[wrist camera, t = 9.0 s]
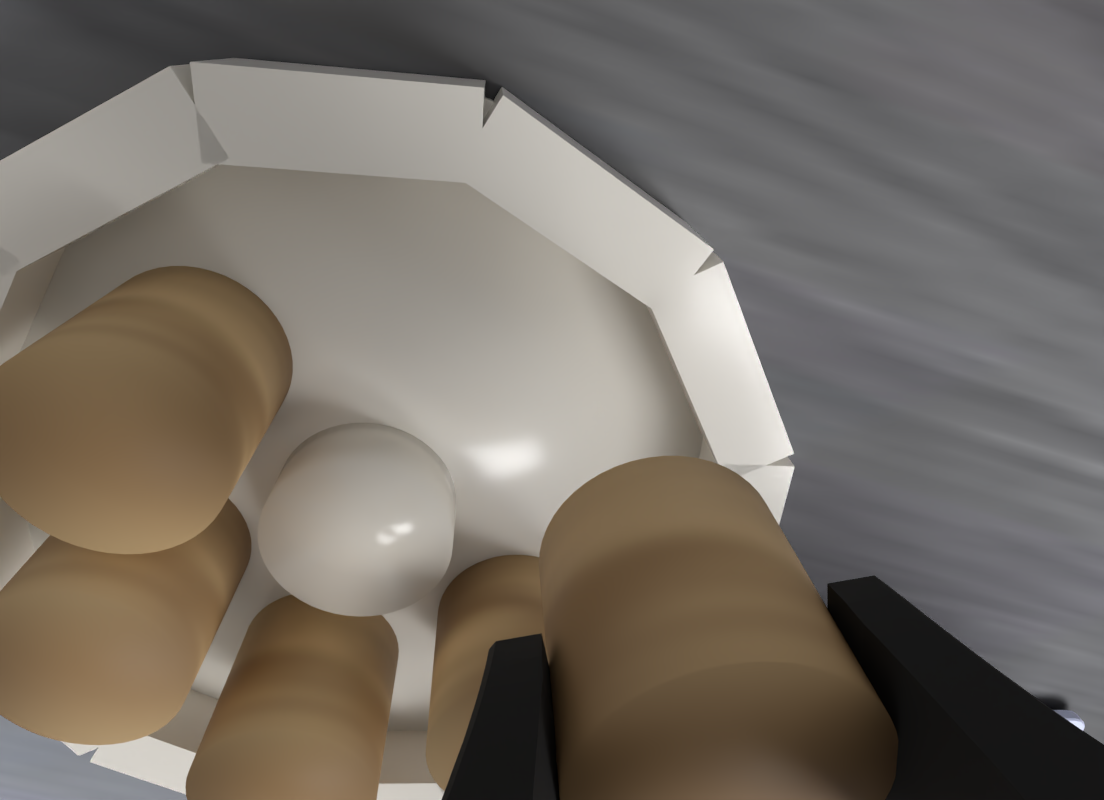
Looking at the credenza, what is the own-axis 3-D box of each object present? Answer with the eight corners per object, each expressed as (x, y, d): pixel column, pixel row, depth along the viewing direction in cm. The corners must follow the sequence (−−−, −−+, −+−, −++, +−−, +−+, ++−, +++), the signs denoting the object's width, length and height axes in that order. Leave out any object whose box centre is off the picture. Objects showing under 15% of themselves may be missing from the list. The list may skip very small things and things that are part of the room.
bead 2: (744, 650, 13) (842, 890, 9) (527, 643, 12) (541, 892, 9) (803, 463, 11) (948, 667, 8) (554, 447, 11) (585, 656, 7)
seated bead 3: (399, 703, 20) (378, 851, 16) (252, 703, 19) (197, 854, 16) (398, 592, 18) (374, 729, 15) (238, 589, 18) (173, 729, 14)
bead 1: (430, 665, 19) (417, 809, 16) (446, 547, 18) (435, 678, 14) (573, 675, 20) (592, 816, 16) (602, 562, 18) (629, 690, 15)
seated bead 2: (258, 604, 18) (199, 744, 14) (93, 601, 18) (-9, 745, 14) (243, 470, 16) (173, 592, 13) (61, 463, 16) (-64, 588, 12)
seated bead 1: (298, 441, 16) (243, 557, 13) (114, 434, 16) (3, 551, 12) (286, 272, 14) (218, 349, 11) (80, 259, 14) (-60, 335, 11)
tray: (682, 749, 22) (701, 818, 20) (47, 750, 20) (-1, 826, 18) (832, 111, 14) (885, 123, 12) (-176, 21, 13) (-299, 18, 11)
